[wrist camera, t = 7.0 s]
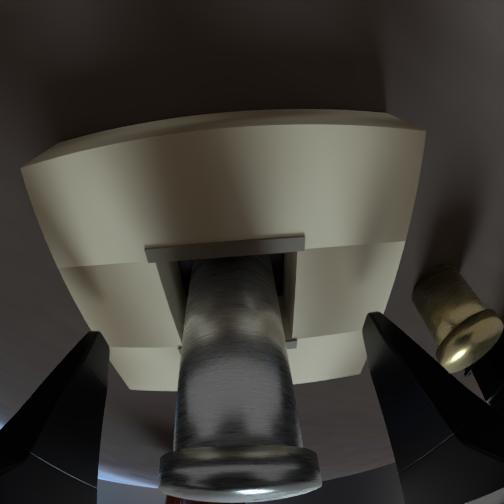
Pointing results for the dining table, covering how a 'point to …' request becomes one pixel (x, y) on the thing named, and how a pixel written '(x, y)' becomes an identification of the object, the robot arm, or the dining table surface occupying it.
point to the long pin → (235, 392)
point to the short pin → (455, 318)
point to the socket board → (231, 225)
